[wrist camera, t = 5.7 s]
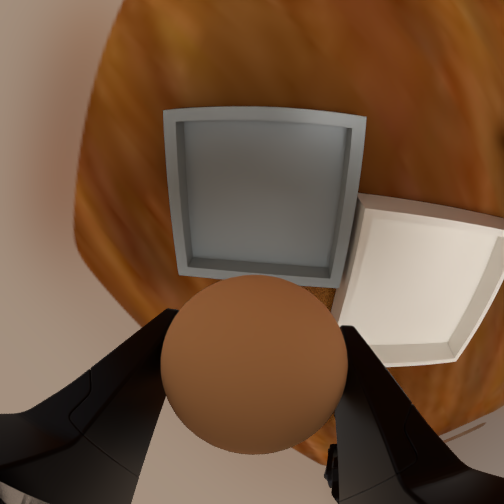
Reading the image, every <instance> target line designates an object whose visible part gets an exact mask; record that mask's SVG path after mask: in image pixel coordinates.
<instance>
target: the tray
mask: <svg viewBox="0 0 504 504" xmlns="http://www.w3.org/2000/svg"><path fill="white" fill-rule="evenodd" d="M366 118H367V117H364V116H359V115H353V114H347V113H339V112H331V111H323V110H313V109H302V108H288V107H267V106H213V107H192V108H178V109H170V110H163V119H164V140H165V156H166V170H167V182H168V192H169V203H170V212H171V221H172V229H173V237H174V245H175V252H176V259H177V266H178V273H179V275H184V276H194V277H204V278H214V279H228V278H232V277H237V276H243V275H266V276H273V277H277V278H281V279H284V280H287V281H290V282H292V283H294V284H296V285H298V286H312V287H327V288H339V286H340V282H341V278H342V273H343V269H344V264H345V260H346V255H347V250H348V245H349V240H350V235H351V230H352V224H353V219H354V213H355V207H356V201H357V194H358V188H359V181H360V173H361V166H362V158H363V149H364V140H365V129H366Z"/></svg>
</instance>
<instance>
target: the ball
mask: <svg viewBox="0 0 504 504" xmlns="http://www.w3.org/2000/svg"><path fill="white" fill-rule="evenodd" d="M347 371H348V359H347V349H346V345H345V341H344V338H343V335H342V332H341V330H340V328H339V325H338V323H337V322H336V320H335V318H334V317H333V315H332V314H331V312H330V311H329V310H328V309H327V307H326V306H325V305H324V304H323V303H322V302H321V301H320V300H319V299H317V298H316V297H315V296H314V295H313V294H312V293H310V292H309V291H307V290H306V289H304V288H302V287H300V286H298V285H296V284H294V283H292V282H290V281H287V280H284V279H281V278H277V277H273V276H266V275H243V276H237V277H232V278H228V279H224V280H221V281H219V282H217V283H214V284H212V285H210V286H208V287H206V288H205V289H203V290H201V291H200V292H198V293H197V294H196V295H195V296H193V297H192V298H191V299H190V300H189V301H188V302H187V303H185V305H184V306H183V307H182V308H181V310H180V311H179V312H178V313H177V315H176V316H175V317H174V319H173V321H172V323H171V325H170V327H169V329H168V331H167V333H166V336H165V339H164V342H163V347H162V353H161V377H162V383H163V387H164V390H165V393H166V396H167V399H168V401H169V403H170V405H171V407H172V408H173V410H174V412H175V414H176V415H177V416H178V418H179V419H180V420H181V421H182V422H183V424H184V425H185V426H186V427H187V428H188V429H189V430H191V431H192V432H193V433H194V434H195V435H196V436H198V437H199V438H201V439H202V440H204V441H206V442H207V443H209V444H211V445H213V446H215V447H218V448H220V449H224V450H227V451H230V452H234V453H239V454H252V455H254V454H269V453H274V452H278V451H282V450H285V449H288V448H290V447H293V446H295V445H297V444H299V443H301V442H303V441H304V440H306V439H307V438H309V437H310V436H312V435H313V434H314V433H316V432H317V431H318V430H319V429H320V428H321V427H322V426H323V425H324V424H325V423H326V422H327V420H328V419H329V418H330V416H331V415H332V414H333V412H334V411H335V409H336V407H337V405H338V403H339V401H340V399H341V397H342V395H343V391H344V388H345V385H346V379H347Z"/></svg>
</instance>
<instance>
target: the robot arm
mask: <svg viewBox="0 0 504 504" xmlns="http://www.w3.org/2000/svg"><path fill="white" fill-rule="evenodd" d="M178 312H179V310H176V309H169V308H168V309H166V310H164V311H163V312H162V313H160V314H159V315H158V316H157V317H155V318H154V319H153V320H151V321H150V322H149V323H148V324H146V325H145V326H144V327H142V328H141V329H140V330H139V331H137V332H136V333H135V334H133V335H132V336H131V337H130V338H128V339H127V340H126V341H124V342H123V343H122V344H121V345H119V346H118V347H117V348H116V349H114V350H113V351H112V352H110V353H109V354H108V355H107V356H105V357H104V358H103V359H102V360H100V361H99V362H98V363H96V364H95V365H94V366H93V367H91V370H90V369H89V370H87V371H86V372H85V373H84V374H82V375H81V376H80V377H78V378H77V379H76V380H75V381H73V382H72V383H70V384H69V385H67V386H66V387H65V388H63V389H62V390H60V391H59V392H57V393H55V394H54V395H52V396H51V397H49V398H48V399H46V400H44V401H43V402H41V403H39V404H38V405H36V406H34V407H33V408H31V409H29V410H27V411H25V412H21V413H15V414H0V504H131V502H132V499H133V495H134V492H135V489H136V485H137V482H138V479H139V475H140V472H141V469H142V466H143V463H144V460H145V456H146V453H147V450H148V447H149V444H150V441H151V438H152V435H153V432H154V429H155V426H156V423H157V420H158V417H159V414H160V411H161V409H162V406H163V403H164V400H165V397H166V393H165V390H164V387H163V383H162V377H161V353H162V347H163V342H164V339H165V336H166V333H167V331H168V329H169V327H170V325H171V323H172V321H173V319H174V317H175V316H176V315H177V313H178ZM340 330H341V332H342V335H343V338H344V341H345V345H346V349H347V359H348V371H347V379H346V385H345V388H344V391H343V395H342V397H341V399H340V401H339V403H338V405H337V407H336V409H335V413H334V417H335V419H336V433H337V444H330V448H329V449H328V460H327V466H326V470H325V474H324V478H325V479H326V480H327V481H328V484H329V487H330V488H332V496H333V497H334V498H335V500H336V501H337V503H338V504H504V478H502V477H499V476H495V475H491V474H488V473H485V472H481V471H478V470H475V469H472V468H470V467H468V466H467V465H465V464H464V463H463V462H462V461H460V459H459V458H458V457H457V456H456V455H455V454H454V453H453V452H452V451H451V450H450V448H449V447H448V446H447V445H446V444H445V443H444V442H443V441H442V440H441V438H439V436H438V435H437V434H436V433H435V432H434V430H433V429H432V428H431V427H430V426H429V425H428V423H427V422H426V421H425V419H424V418H423V417H422V416H421V414H420V413H419V412H418V410H417V409H416V407H415V406H414V405H413V404H412V402H411V401H410V399H409V398H408V397H407V395H406V394H405V393H404V391H403V390H402V389H401V387H400V386H399V384H398V383H397V382H396V380H395V379H394V378H393V376H392V375H391V374H390V372H389V371H388V370H387V369H386V367H385V366H384V365H383V363H382V362H381V361H380V359H379V358H378V357H377V355H376V354H375V353H374V352H373V350H372V349H371V348H370V346H369V345H368V344H367V342H366V341H365V340H364V339H363V337H362V336H361V335H360V333H359V332H358V331H357V330H356V328H355V327H354V326H351V325H342V326H340ZM411 404H412V405H411Z"/></svg>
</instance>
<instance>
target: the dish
mask: <svg viewBox="0 0 504 504" xmlns="http://www.w3.org/2000/svg"><path fill="white" fill-rule="evenodd" d="M503 279H504V218H500V217H496V216H492V215H487V214H483V213H478V212H474V211H469V210H464V209H459V208H454V207H448V206H443V205H437V204H432V203H426V202H420V201H414V200H407V199H401V198H394V197H387V196H379V195H372V194H364V193H358V194H357V201H356V207H355V213H354V219H353V224H352V230H351V235H350V240H349V245H348V250H347V255H346V260H345V264H344V269H343V273H342V278H341V282H340V286H339V288H336V293H335V297H334V301H333V305H332V309H331V314H332V315H333V317H334V318H335V320H336V322H337V323H338V325H339V328H340V326H342V325H351V326H354V327H355V328H356V330H357V331H358V332H359V333H360V335H361V336H362V337H363V339H364V340H365V341H366V342H367V344H368V345H369V346H370V348H371V349H372V350H373V352H374V353H375V354H376V355H377V357H378V358H379V359H380V361H381V362H382V363H383V365H384V366H385V367H400V366H416V365H428V364H438V363H448V362H456V360H457V359H458V358H459V356H460V355H461V353H462V352H463V350H464V349H465V347H466V346H467V344H468V343H469V341H470V340H471V338H472V337H473V335H474V333H475V332H476V330H477V328H478V327H479V325H480V323H481V322H482V320H483V318H484V316H485V315H486V313H487V311H488V309H489V307H490V306H491V304H492V302H493V300H494V298H495V296H496V294H497V292H498V290H499V288H500V286H501V284H502V282H503Z"/></svg>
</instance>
